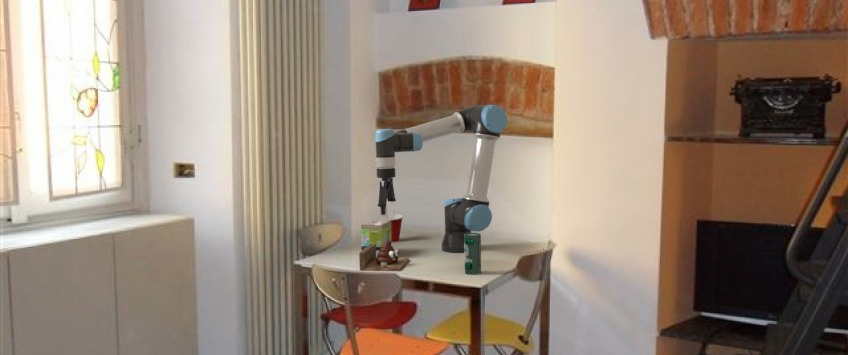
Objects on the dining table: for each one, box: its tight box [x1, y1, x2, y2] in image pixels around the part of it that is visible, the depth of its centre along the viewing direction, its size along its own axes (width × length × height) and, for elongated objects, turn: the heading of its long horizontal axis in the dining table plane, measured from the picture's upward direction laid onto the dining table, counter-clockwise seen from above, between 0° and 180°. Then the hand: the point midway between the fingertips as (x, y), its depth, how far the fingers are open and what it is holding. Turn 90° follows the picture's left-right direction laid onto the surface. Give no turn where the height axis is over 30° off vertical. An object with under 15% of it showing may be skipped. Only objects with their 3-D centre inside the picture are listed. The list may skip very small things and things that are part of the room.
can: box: [463, 232, 482, 275], centre depth 285 cm, size 6×6×15 cm
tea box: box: [360, 219, 393, 258], centre depth 323 cm, size 15×10×15 cm, turn 168°
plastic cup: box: [387, 214, 404, 243], centre depth 356 cm, size 11×11×12 cm
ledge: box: [358, 243, 410, 272], centre depth 303 cm, size 16×20×7 cm
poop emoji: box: [376, 240, 400, 265], centre depth 303 cm, size 10×8×9 cm
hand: (387, 220), depth 301 cm, fingers open, 13 cm apart
